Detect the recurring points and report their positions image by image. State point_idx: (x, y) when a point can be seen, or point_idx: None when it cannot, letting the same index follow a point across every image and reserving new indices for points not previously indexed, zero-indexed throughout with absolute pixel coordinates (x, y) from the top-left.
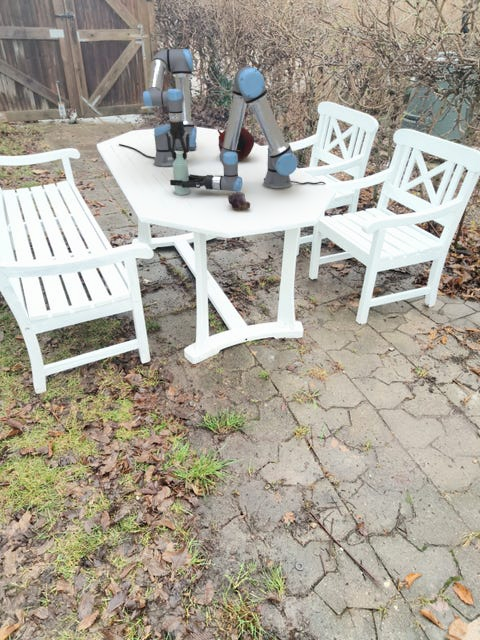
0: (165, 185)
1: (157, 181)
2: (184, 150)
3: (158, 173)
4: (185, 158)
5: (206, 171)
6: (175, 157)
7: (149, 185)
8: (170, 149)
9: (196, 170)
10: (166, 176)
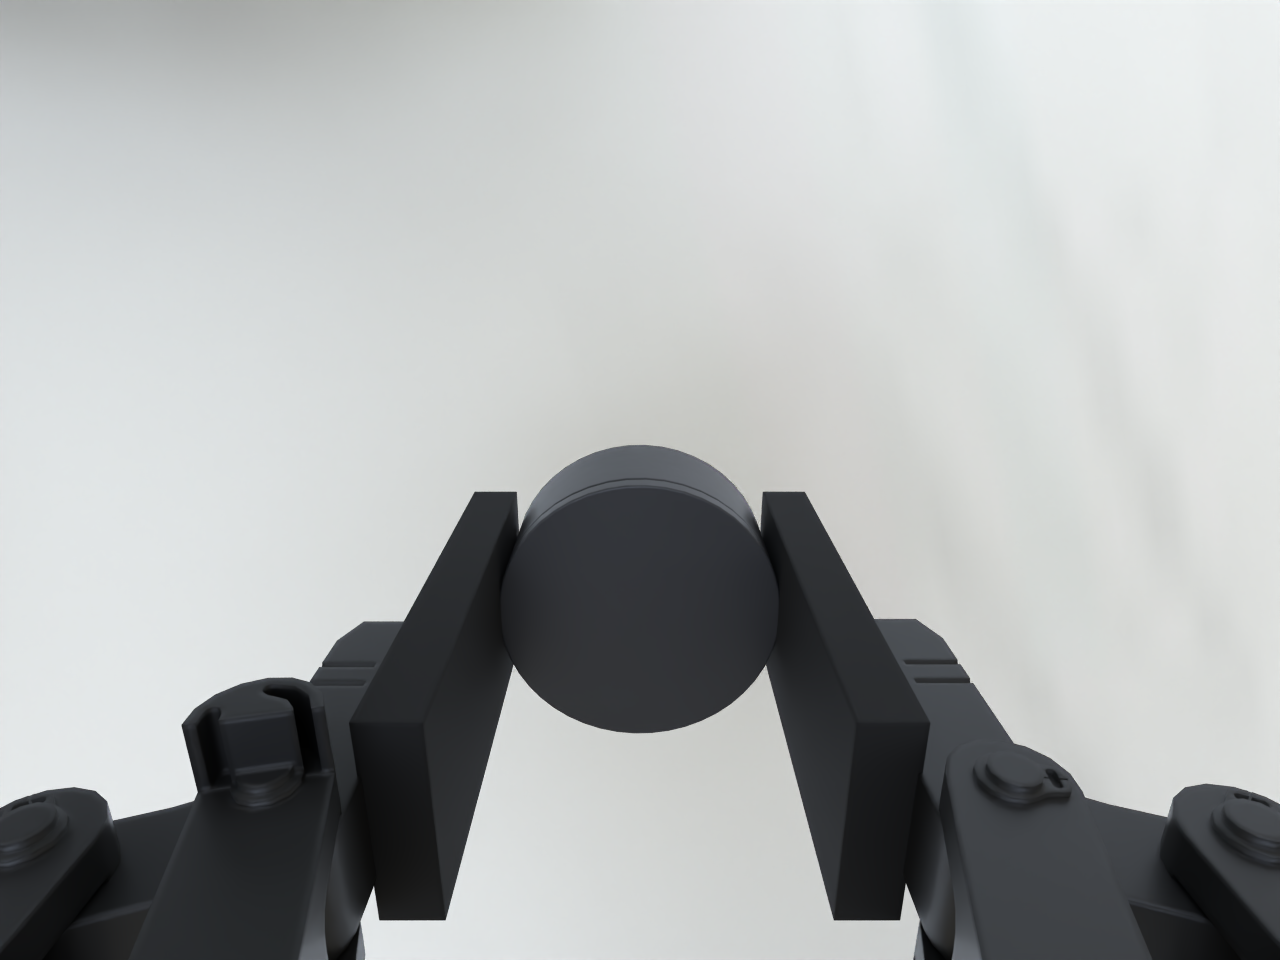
0: (910, 131)
1: (1119, 368)
2: (204, 872)
3: (1154, 787)
4: (374, 634)
5: (393, 955)
6: (804, 651)
7: (1264, 75)
8: (1212, 952)
9: None
10: (989, 663)
